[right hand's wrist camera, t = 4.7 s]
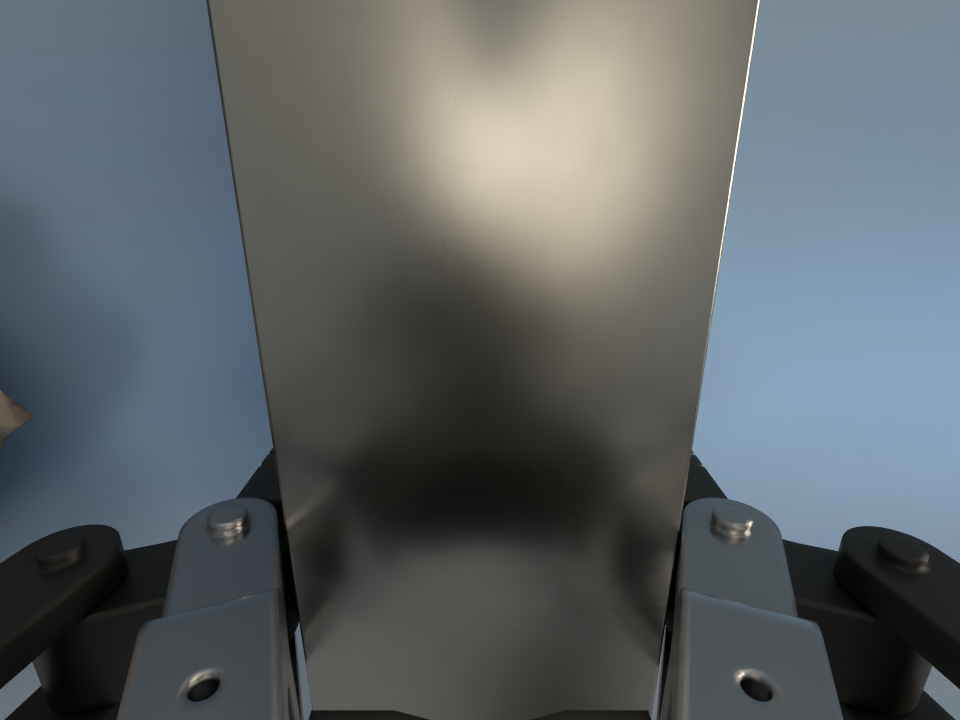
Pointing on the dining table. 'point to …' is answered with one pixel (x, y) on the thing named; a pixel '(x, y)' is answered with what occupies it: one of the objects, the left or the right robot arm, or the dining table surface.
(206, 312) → the dining table surface
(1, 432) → the rock
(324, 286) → the bar
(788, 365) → the dining table surface
